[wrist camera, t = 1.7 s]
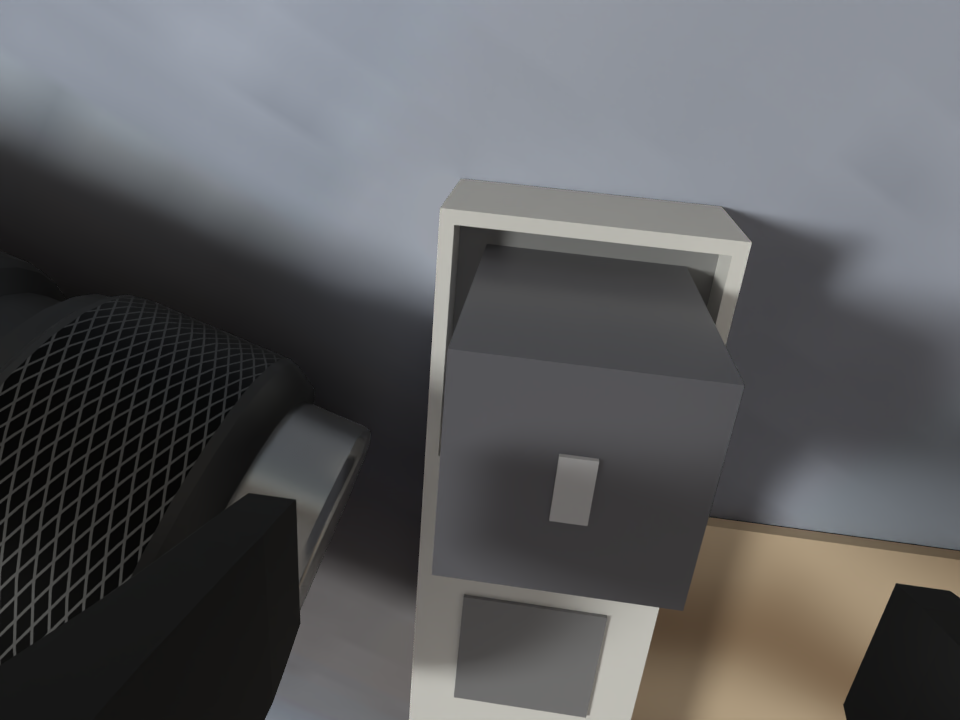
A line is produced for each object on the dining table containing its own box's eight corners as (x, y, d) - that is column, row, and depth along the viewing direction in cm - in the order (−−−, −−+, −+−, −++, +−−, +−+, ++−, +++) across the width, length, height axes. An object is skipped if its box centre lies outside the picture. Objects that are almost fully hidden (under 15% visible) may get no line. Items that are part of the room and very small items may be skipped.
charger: (649, 437, 17) (684, 614, 12) (471, 415, 17) (431, 578, 12) (686, 266, 15) (746, 388, 10) (487, 244, 15) (446, 350, 10)
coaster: (895, 774, 23) (900, 786, 23) (616, 731, 24) (617, 742, 23) (1006, 557, 19) (1014, 567, 19) (670, 511, 20) (672, 520, 20)
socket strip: (590, 777, 25) (593, 890, 22) (419, 750, 25) (397, 857, 22) (721, 206, 16) (759, 251, 13) (460, 178, 17) (434, 215, 13)
